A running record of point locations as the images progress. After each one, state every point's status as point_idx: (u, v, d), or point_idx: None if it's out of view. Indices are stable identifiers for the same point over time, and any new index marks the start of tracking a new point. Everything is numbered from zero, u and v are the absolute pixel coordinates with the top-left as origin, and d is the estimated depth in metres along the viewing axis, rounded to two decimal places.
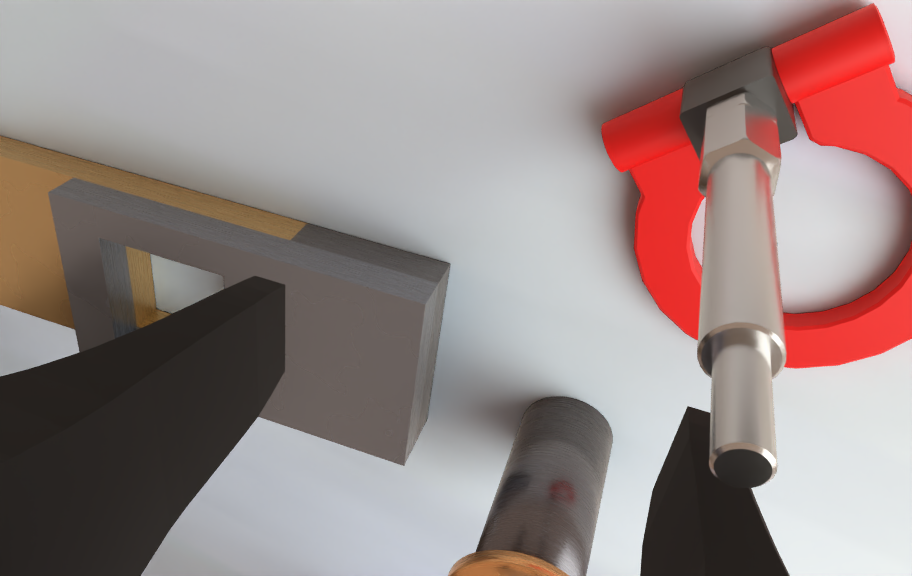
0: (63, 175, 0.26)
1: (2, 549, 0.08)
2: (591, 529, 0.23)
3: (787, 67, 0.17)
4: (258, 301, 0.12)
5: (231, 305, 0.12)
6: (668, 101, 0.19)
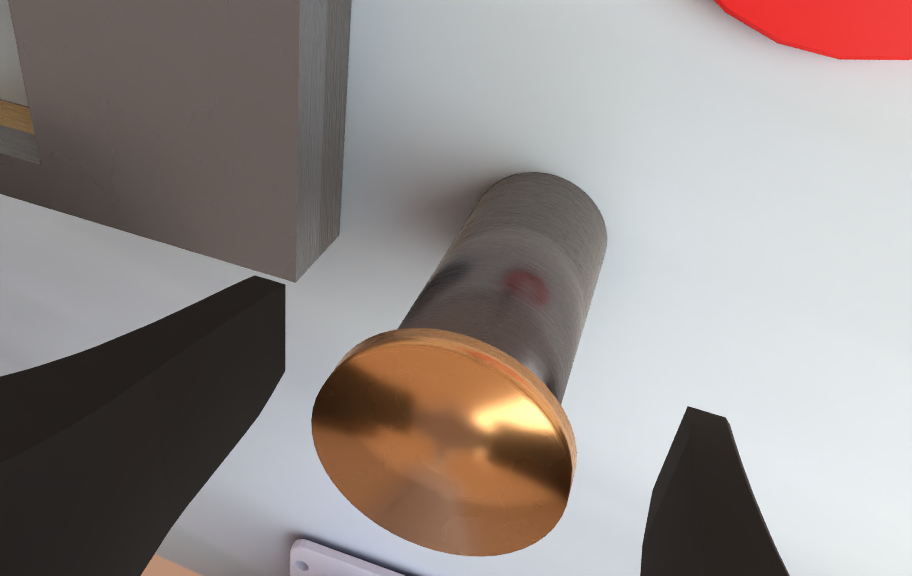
0: None
1: (2, 549, 0.08)
2: (571, 334, 0.14)
3: None
4: (258, 301, 0.12)
5: (231, 305, 0.12)
6: None
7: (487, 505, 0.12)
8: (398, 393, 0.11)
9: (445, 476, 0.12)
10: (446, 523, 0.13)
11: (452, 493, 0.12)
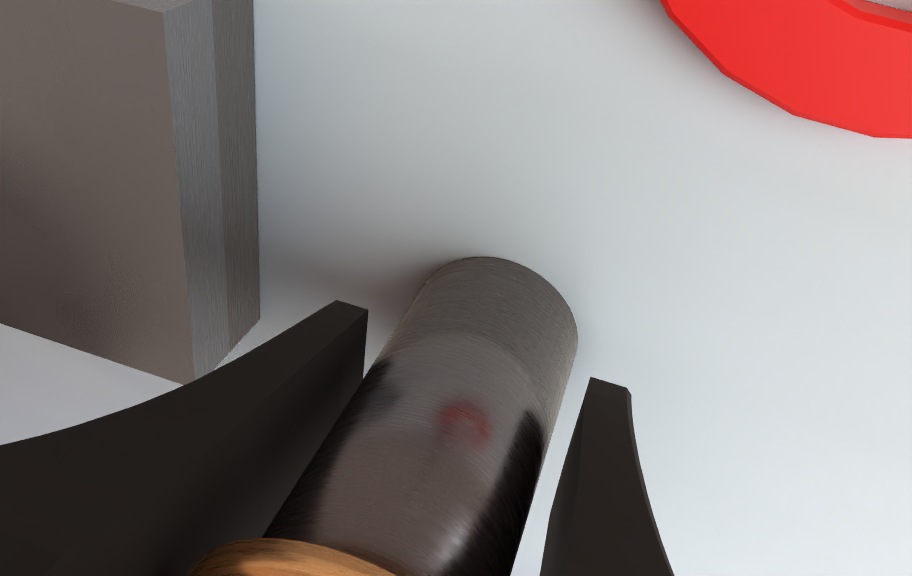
0: None
1: None
2: (520, 497, 0.11)
3: None
4: (346, 328, 0.12)
5: (321, 333, 0.12)
6: None
7: None
8: None
9: None
10: None
11: None
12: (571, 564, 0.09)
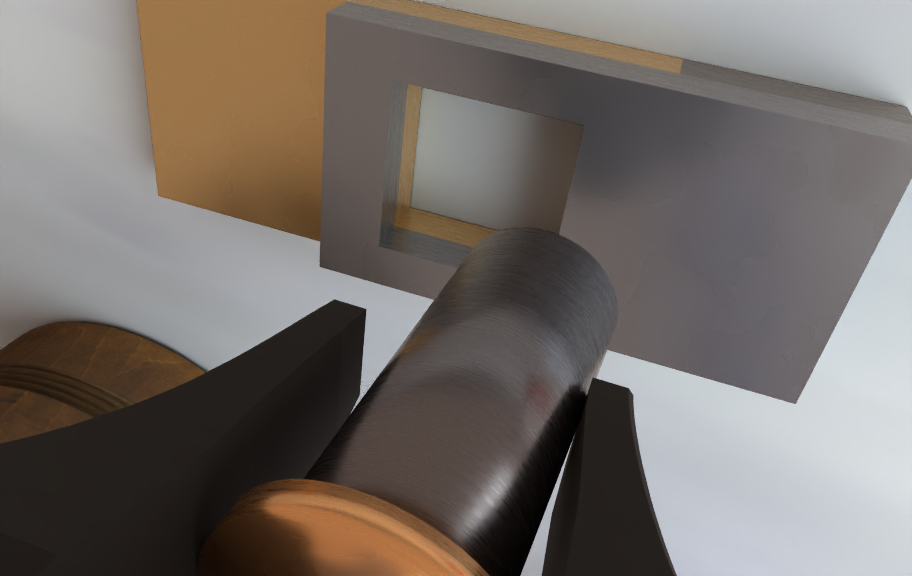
0: None
1: None
2: (548, 456, 0.11)
3: None
4: (344, 327, 0.12)
5: (319, 332, 0.12)
6: None
7: None
8: (291, 565, 0.09)
9: None
10: None
11: None
12: (573, 565, 0.09)
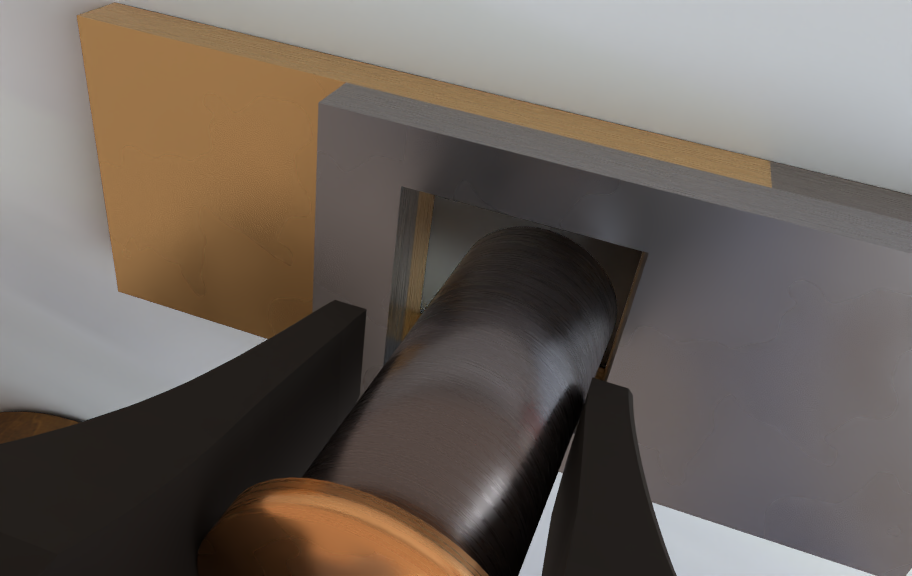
0: (325, 79, 0.15)
1: None
2: (547, 455, 0.11)
3: None
4: (345, 328, 0.12)
5: (319, 332, 0.12)
6: None
7: None
8: (288, 564, 0.09)
9: None
10: None
11: None
12: (574, 565, 0.08)
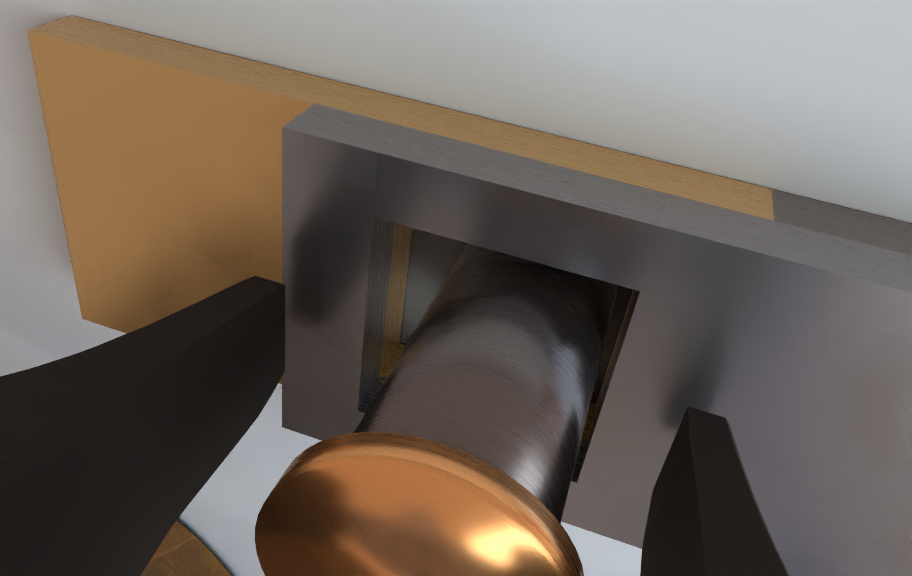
0: (292, 99, 0.14)
1: (2, 549, 0.08)
2: (576, 413, 0.11)
3: None
4: (258, 301, 0.12)
5: (231, 305, 0.12)
6: None
7: None
8: (356, 515, 0.09)
9: None
10: None
11: None
12: None
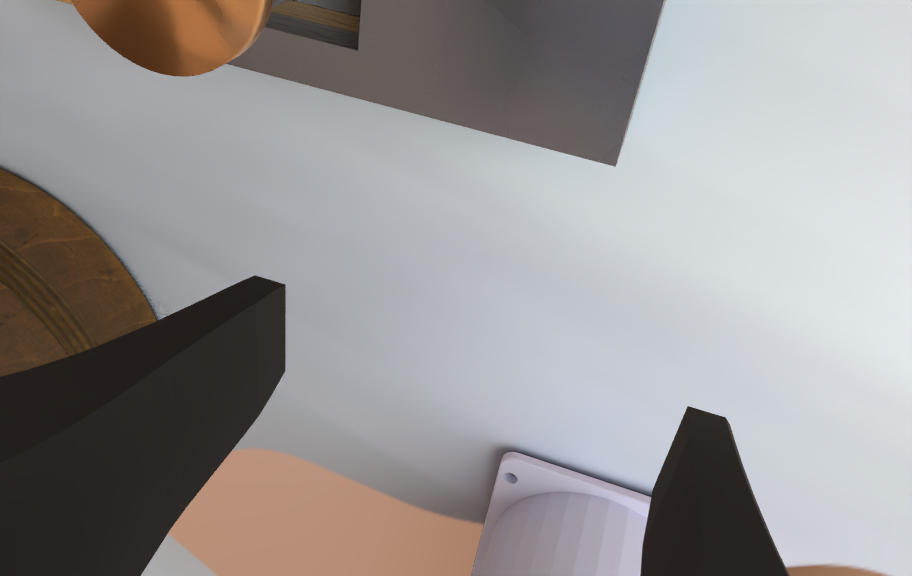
0: None
1: (2, 549, 0.08)
2: None
3: None
4: (258, 301, 0.12)
5: (231, 305, 0.12)
6: None
7: (200, 0, 0.13)
8: None
9: None
10: (174, 36, 0.14)
11: None
12: None
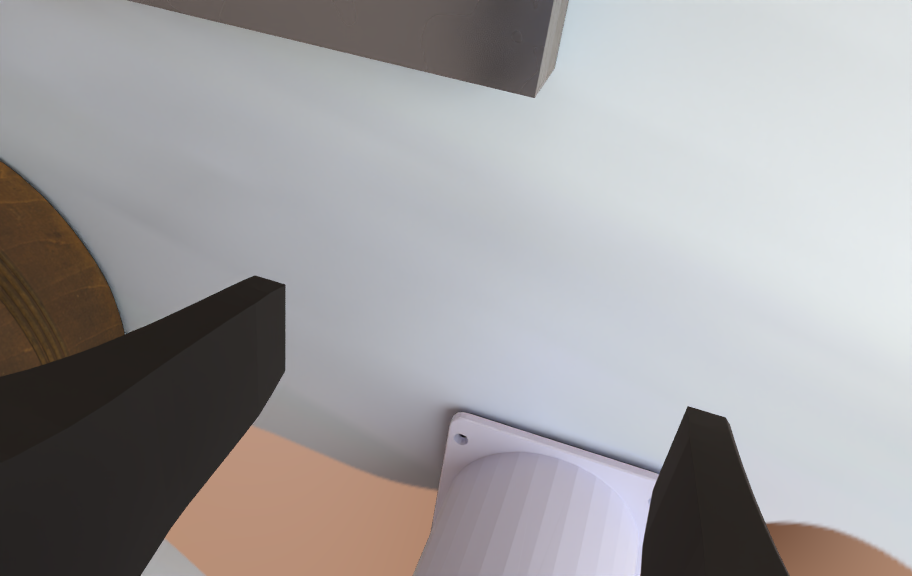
0: None
1: (2, 549, 0.08)
2: None
3: None
4: (258, 301, 0.12)
5: (231, 305, 0.12)
6: None
7: None
8: None
9: None
10: None
11: None
12: None
